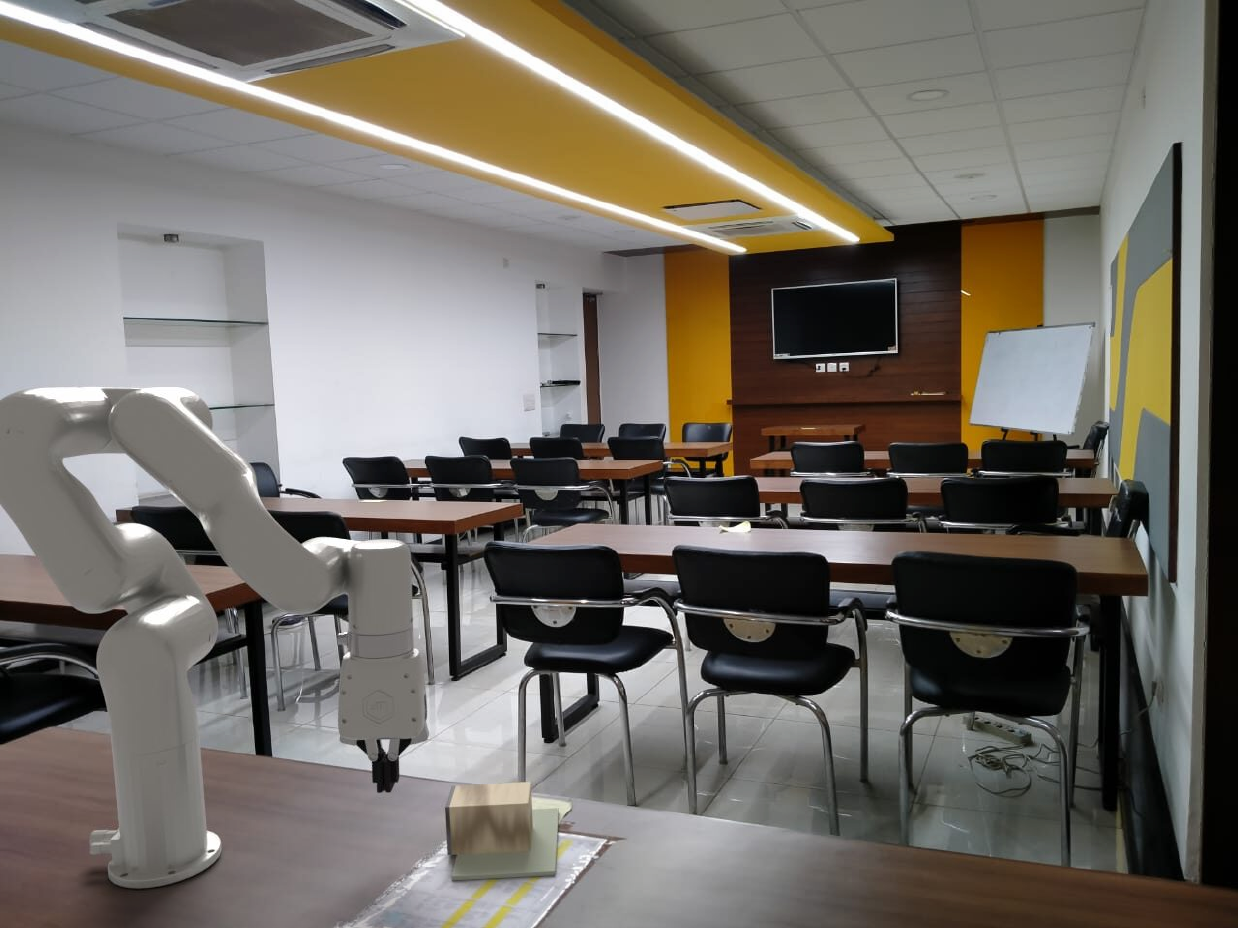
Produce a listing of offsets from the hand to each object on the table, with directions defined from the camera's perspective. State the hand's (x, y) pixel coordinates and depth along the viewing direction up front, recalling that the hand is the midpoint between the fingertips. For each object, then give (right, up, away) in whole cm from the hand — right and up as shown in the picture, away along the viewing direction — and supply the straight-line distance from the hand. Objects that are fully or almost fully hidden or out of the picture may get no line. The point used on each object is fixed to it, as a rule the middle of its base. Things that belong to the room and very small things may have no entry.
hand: (386, 787), depth 116 cm
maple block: (+8, -4, +1) cm, 9 cm away
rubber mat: (+15, -7, +1) cm, 17 cm away
